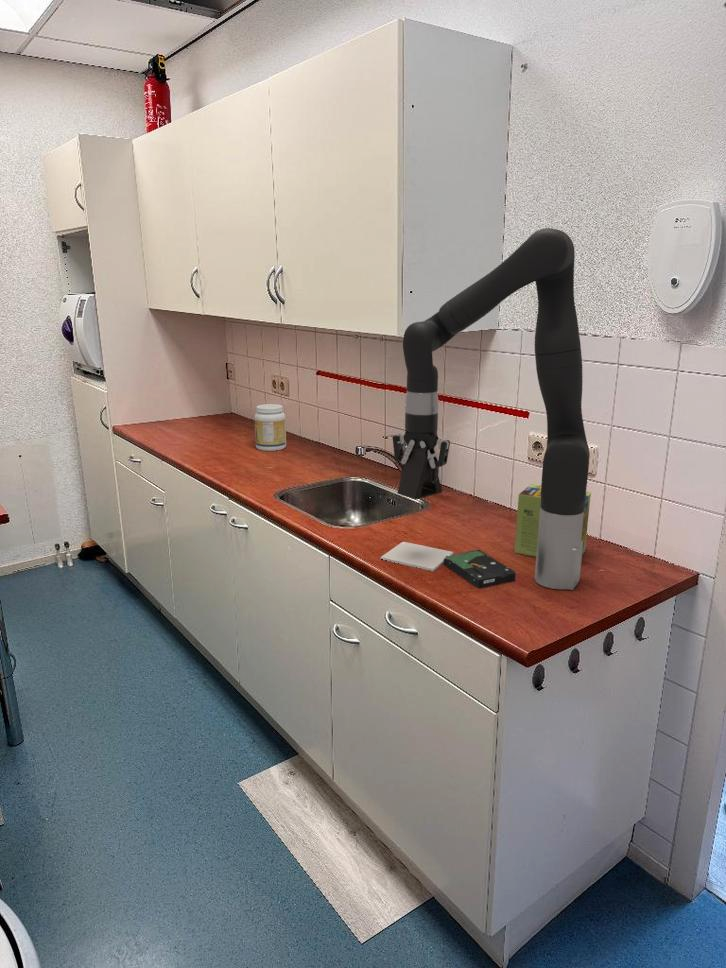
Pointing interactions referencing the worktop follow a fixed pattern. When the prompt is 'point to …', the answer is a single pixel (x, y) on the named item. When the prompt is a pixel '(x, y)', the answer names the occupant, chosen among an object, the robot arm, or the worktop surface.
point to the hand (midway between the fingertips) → (419, 480)
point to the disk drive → (479, 569)
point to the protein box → (537, 520)
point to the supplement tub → (270, 427)
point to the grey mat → (417, 556)
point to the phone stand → (418, 476)
